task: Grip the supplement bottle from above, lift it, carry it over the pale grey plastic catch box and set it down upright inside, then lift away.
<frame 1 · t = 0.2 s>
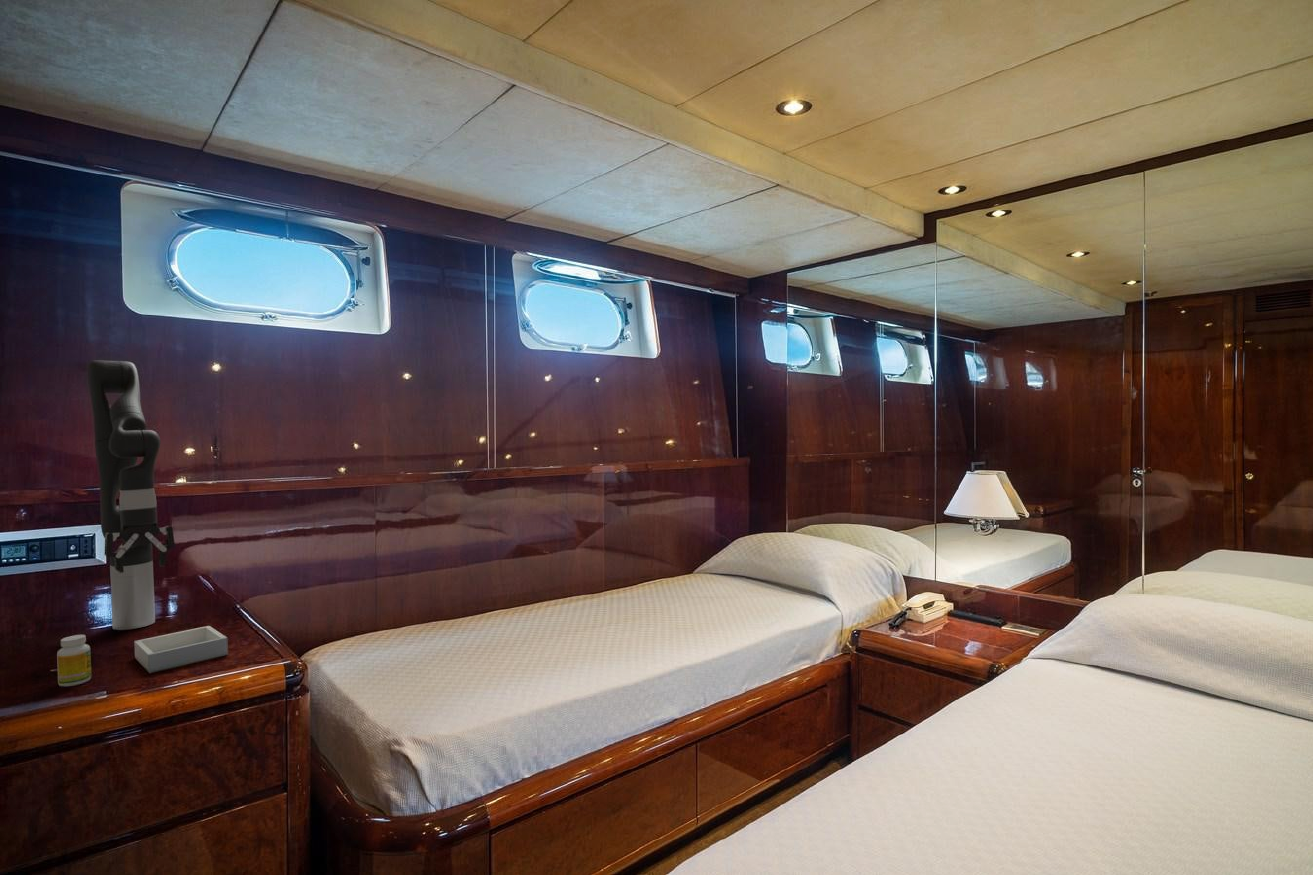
hand: (141, 569, 173), 17 cm above the table, tool pointing down, fingers open, 8 cm apart
catch box: (181, 656, 157), on the table
supplement bottle: (75, 683, 142), on the table
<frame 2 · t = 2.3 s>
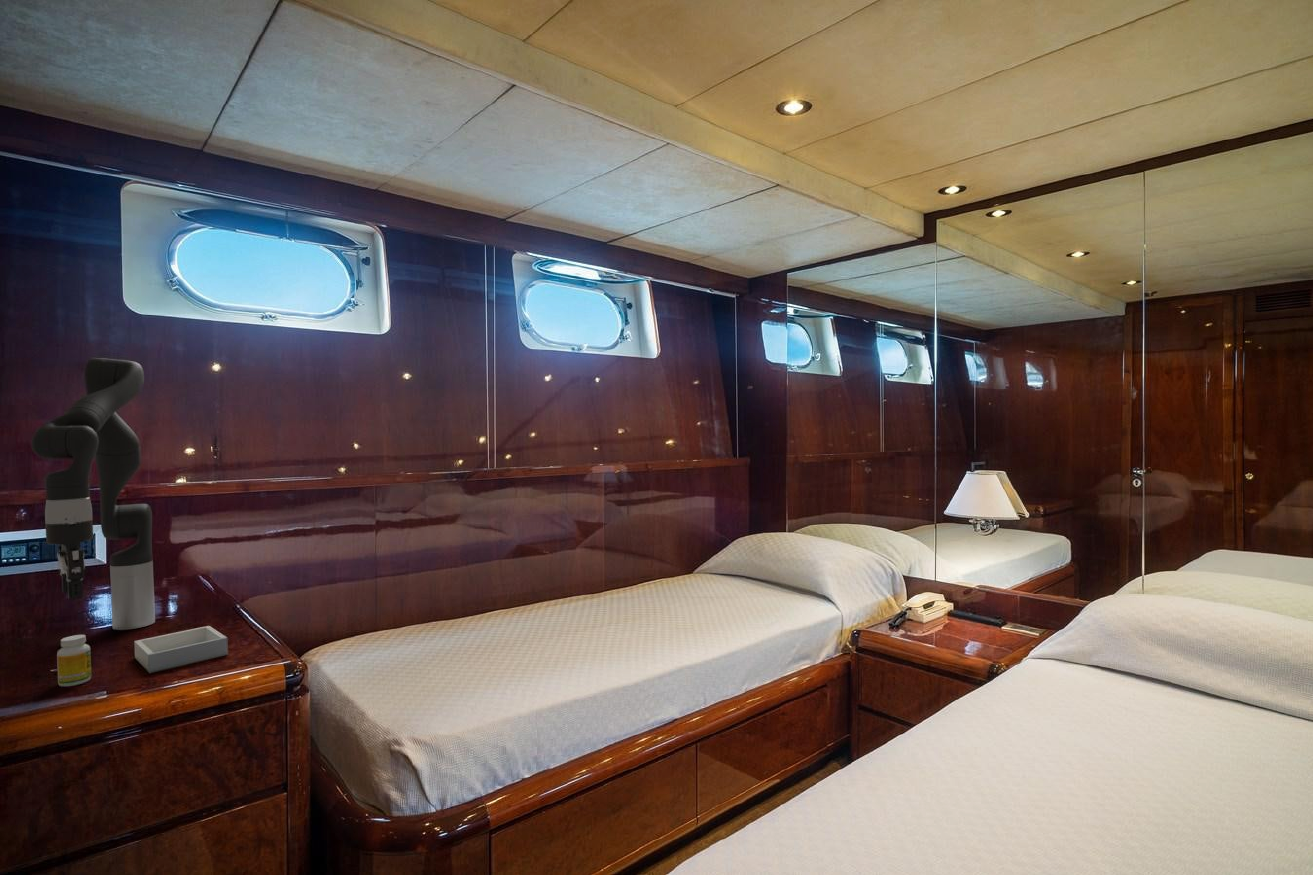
hand: (72, 595, 142), 18 cm above the table, tool pointing down, fingers open, 8 cm apart
nothing on the table moved.
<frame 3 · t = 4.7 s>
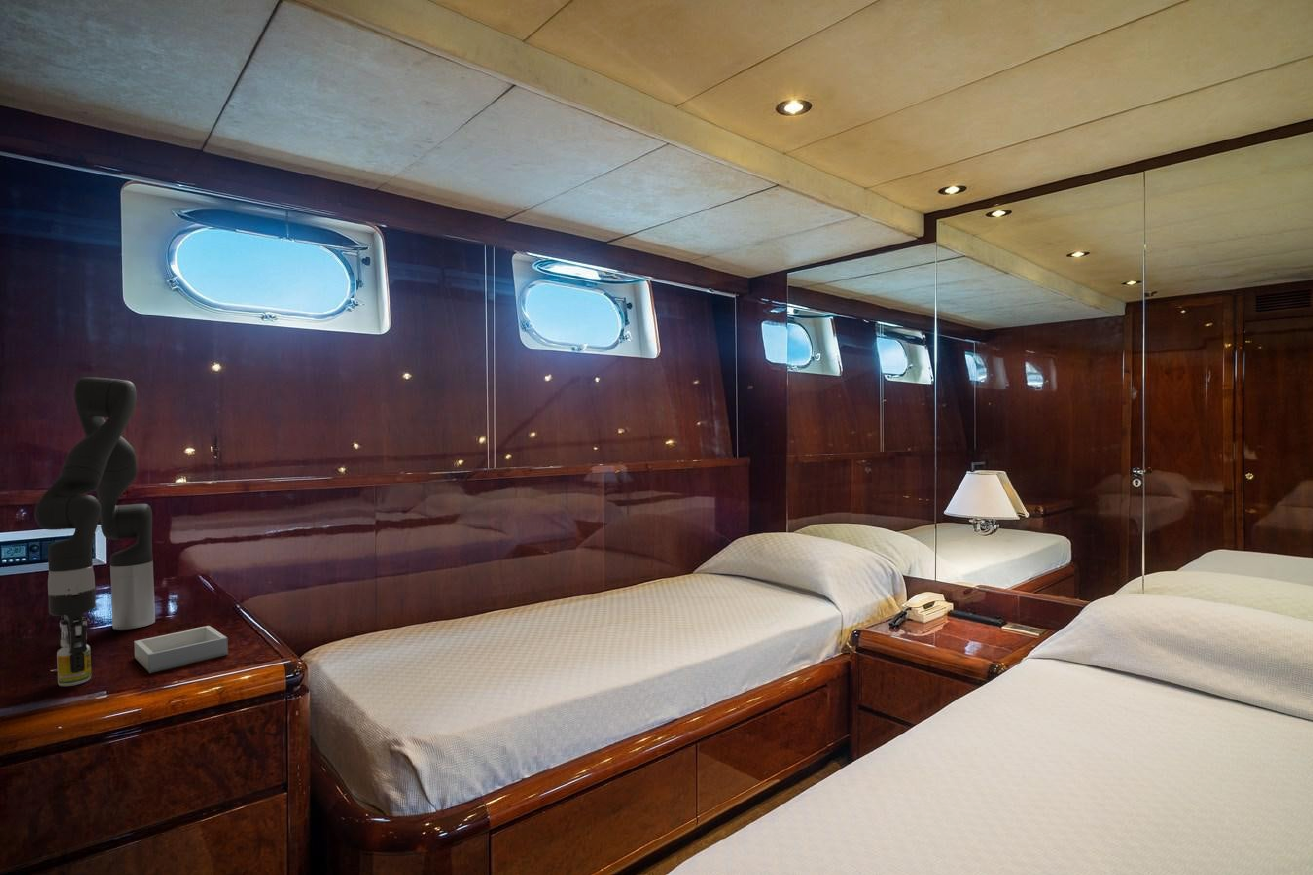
hand: (75, 667, 142), 3 cm above the table, tool pointing down, fingers closed on supplement bottle, 5 cm apart
supplement bottle: (75, 682, 142), on the table, touching gripper
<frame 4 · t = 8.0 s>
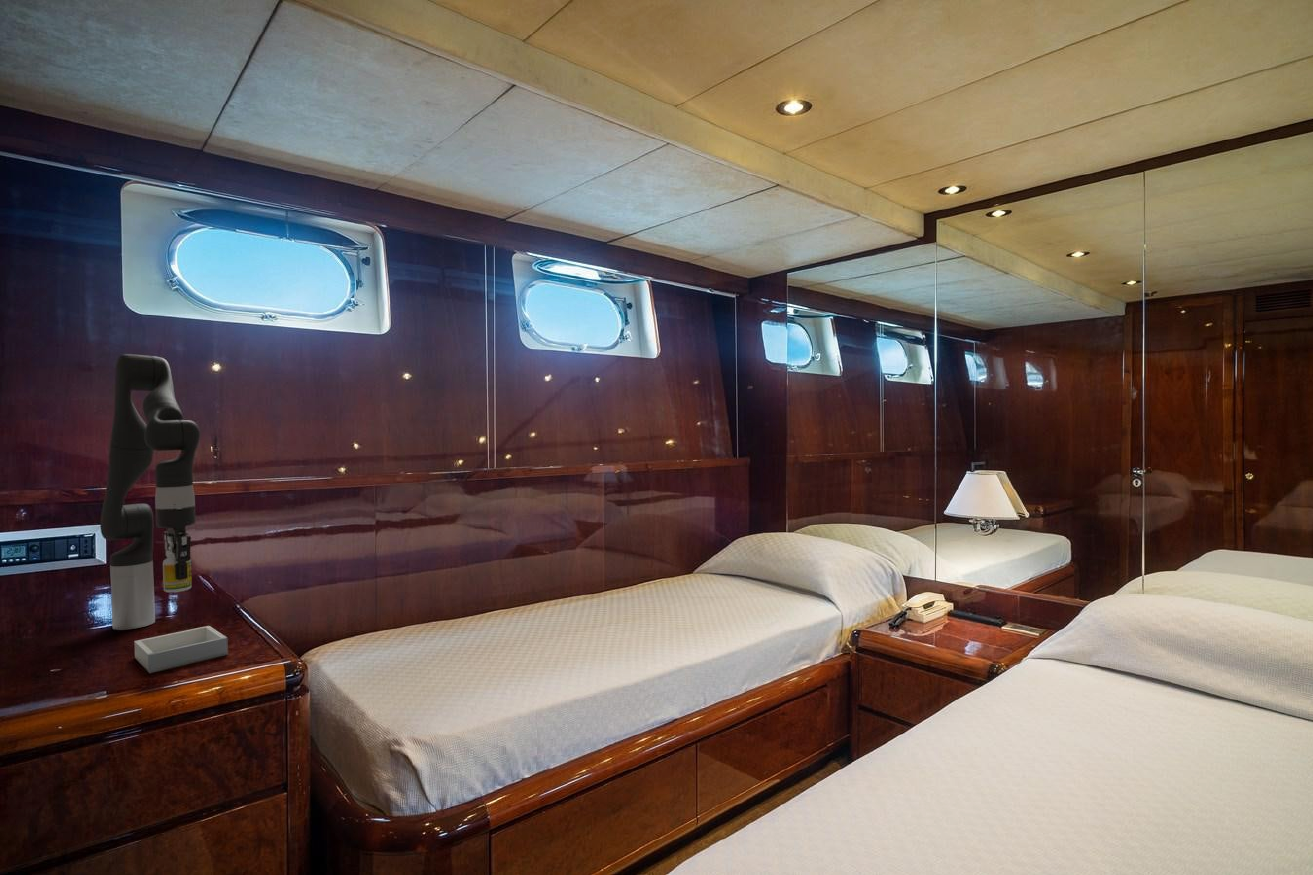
hand: (178, 577, 157), 19 cm above the table, tool pointing down, fingers closed on supplement bottle, 5 cm apart
supplement bottle: (178, 590, 157), point 16 cm above the table, touching gripper
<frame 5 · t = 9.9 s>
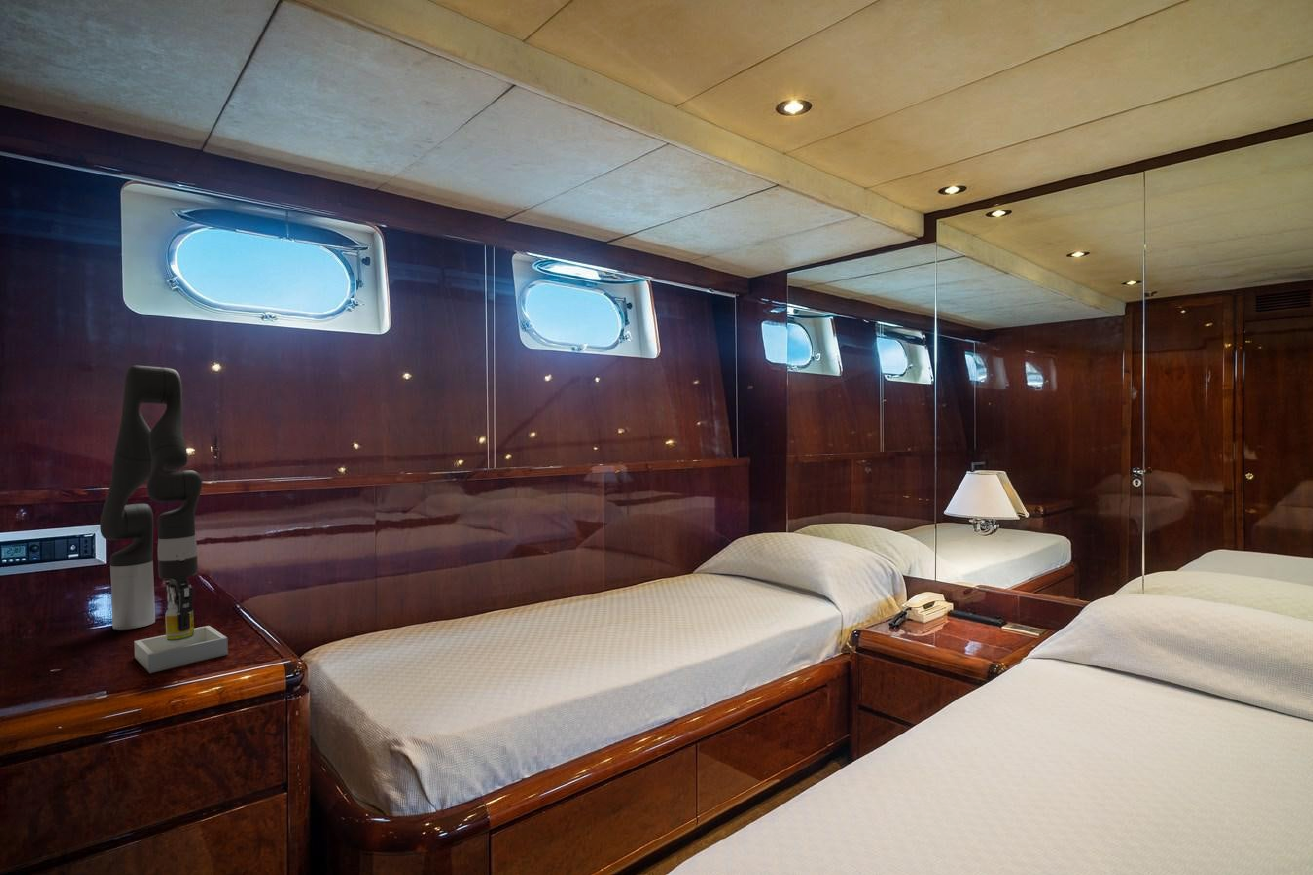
hand: (180, 627, 157), 7 cm above the table, tool pointing down, fingers closed on supplement bottle, 5 cm apart
supplement bottle: (180, 640, 157), point 4 cm above the table, touching gripper
when the fingers open (5 cm above the table, at t = 11.3 s): supplement bottle drops 1 cm, resting on catch box.
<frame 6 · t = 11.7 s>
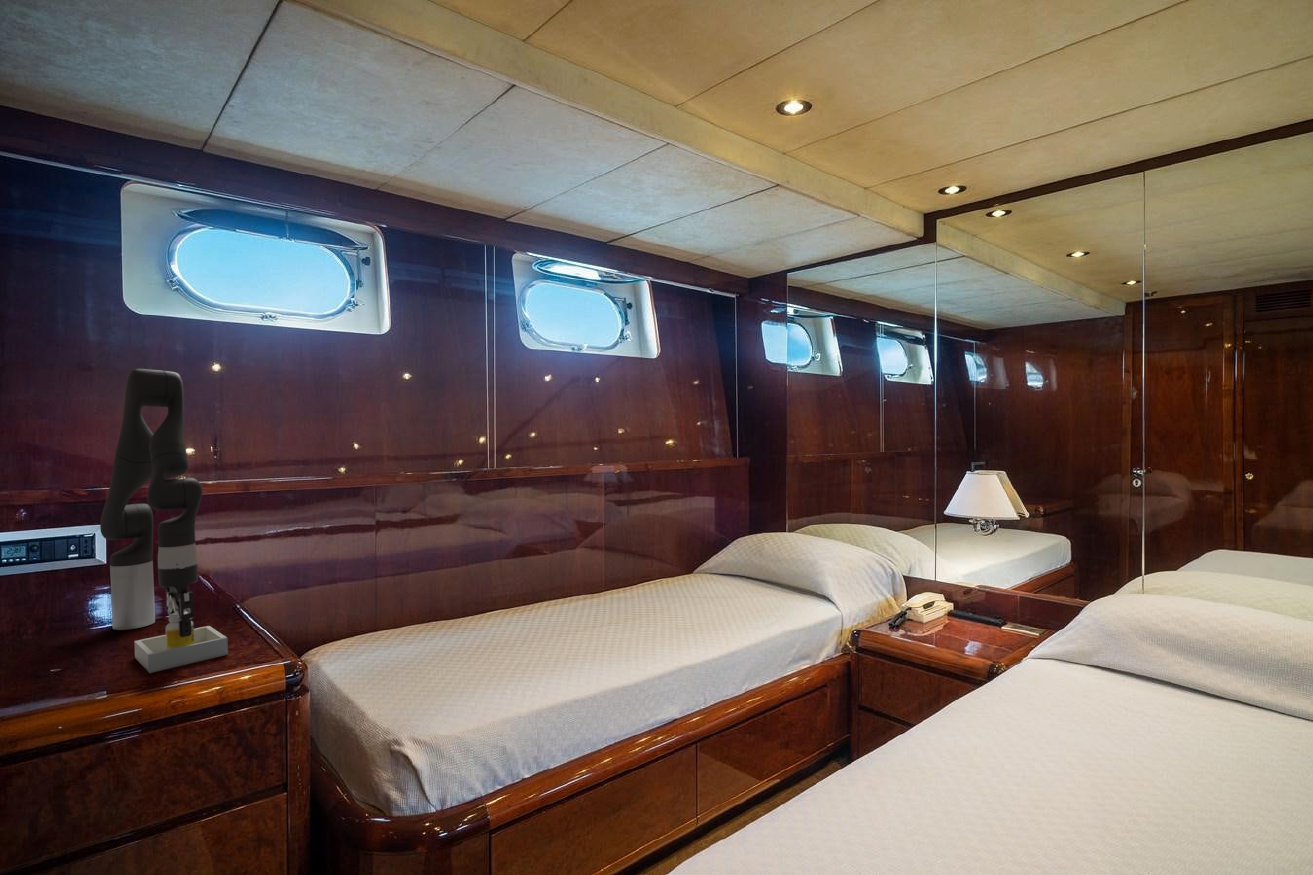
hand: (180, 632, 157), 6 cm above the table, tool pointing down, fingers open, 8 cm apart
supplement bottle: (180, 654, 157), resting on catch box
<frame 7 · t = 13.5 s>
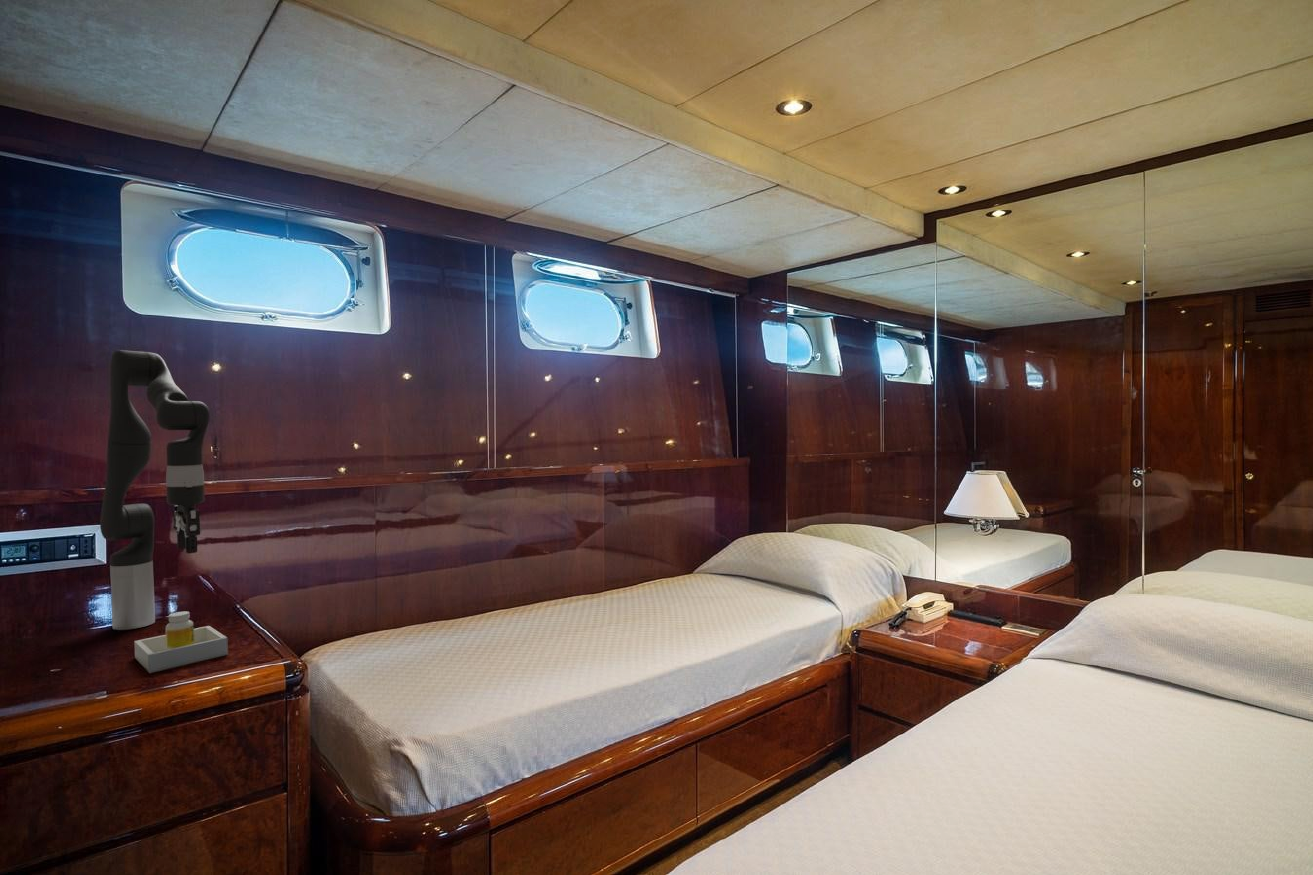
hand: (187, 550, 162), 24 cm above the table, tool pointing down, fingers open, 8 cm apart
nothing on the table moved.
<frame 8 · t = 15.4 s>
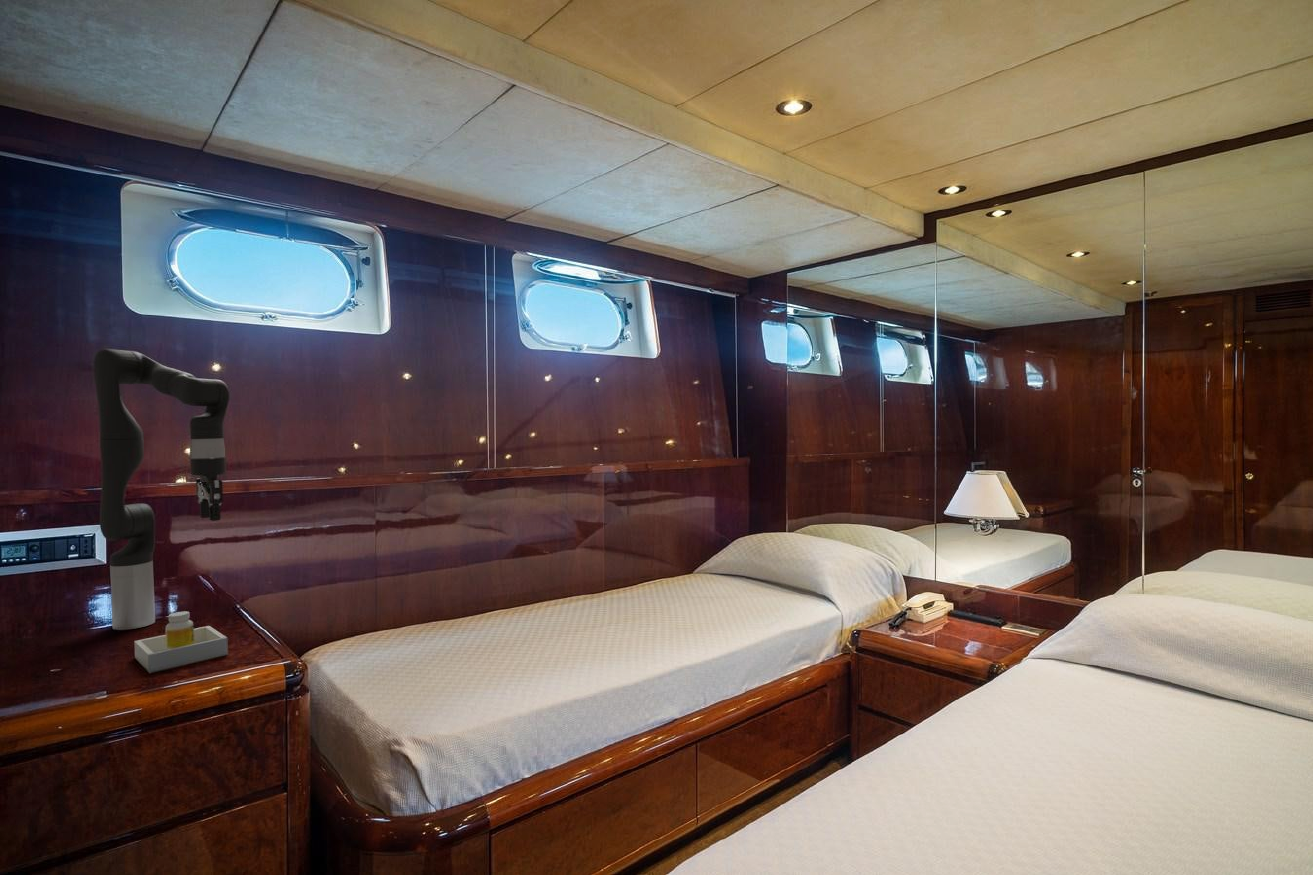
hand: (210, 519, 173), 30 cm above the table, tool pointing down, fingers open, 8 cm apart
nothing on the table moved.
at the end: supplement bottle inside the target area on the catch box (0.2 cm from its centre), point 0.3 cm above the catch box's base; supplement bottle tilted 0°; the gripper is holding nothing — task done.
